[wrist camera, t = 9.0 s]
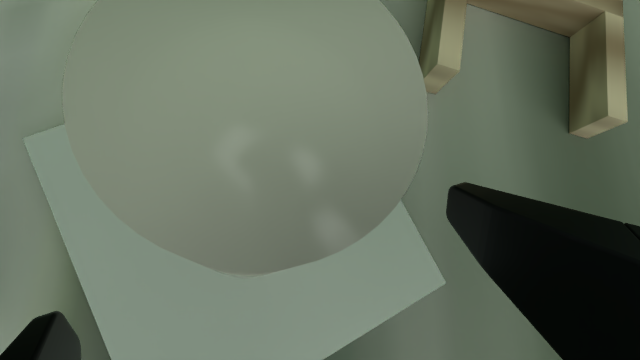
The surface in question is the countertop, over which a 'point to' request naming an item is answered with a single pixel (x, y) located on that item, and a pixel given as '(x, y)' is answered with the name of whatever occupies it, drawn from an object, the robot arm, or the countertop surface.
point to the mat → (224, 282)
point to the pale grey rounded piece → (246, 124)
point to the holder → (557, 16)
